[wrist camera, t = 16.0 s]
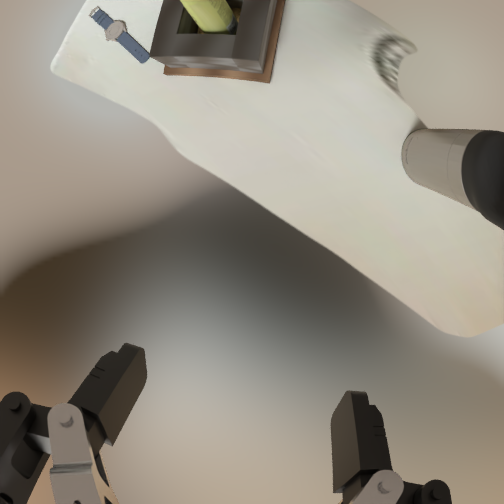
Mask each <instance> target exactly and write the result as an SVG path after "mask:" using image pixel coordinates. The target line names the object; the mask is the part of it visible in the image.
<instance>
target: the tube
mask: <svg viewBox="0 0 504 504" xmlns="http://www.w3.org/2000/svg"><path fill="white" fill-rule="evenodd" d="M180 1H181V2H182V4H183V6H184V7H185V8H186V10H187V11H188V13H189V14H190V15H191V17H192V18H193V19H194V21H195V22H196V23H197V25H198V26H199V27H200V28H201V30H202V31H203V32H204V33H205V34H225V35H236V32H237V27H238V21H237V19H236V17H235V15H234V13H233V12H232V10H231V8H230V7H229V5H228V3H227V2H226V0H180Z"/></svg>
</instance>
